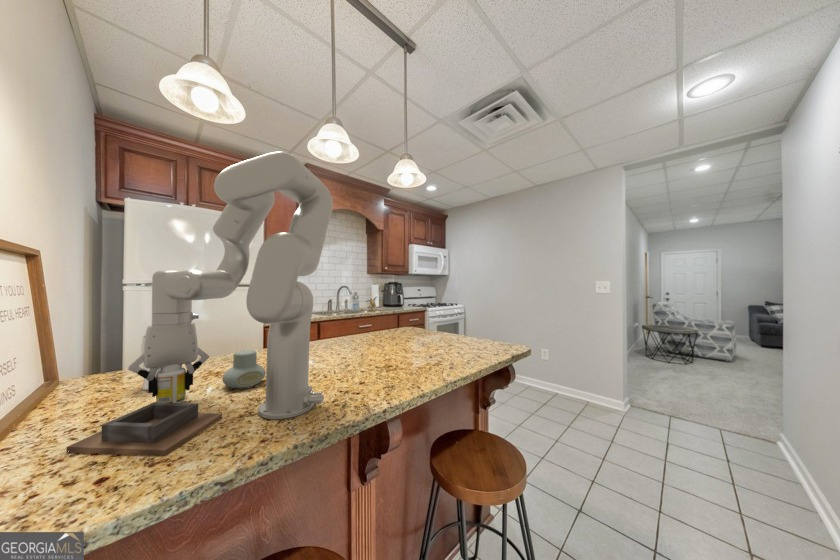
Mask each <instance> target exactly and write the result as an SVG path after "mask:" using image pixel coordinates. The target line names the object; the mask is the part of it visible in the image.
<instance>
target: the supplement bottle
mask: <svg viewBox="0 0 840 560" xmlns="http://www.w3.org/2000/svg"><path fill="white" fill-rule="evenodd" d="M186 372H187V368H186V367H185V368H184V367H183V364H180V365H169V366H166V367H161V371H159V372H158V373H157V375H156V379H157V384H156V396H155V400H156V401H155V402H158V403H184V402H185V401H186V399H187V397H186V396H187V390H186Z"/></svg>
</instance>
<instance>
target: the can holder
mask: <svg viewBox="0 0 840 560" xmlns="http://www.w3.org/2000/svg"><path fill="white" fill-rule="evenodd" d="M222 419H223V413H212V412H210V413H209V412H199V403H192V402H191V403H190V402H189V403H187V402H186V403H185V402H182V403H158V402H156V401H154V402H152V403H150V404H147V405H145V406H142V407H141V408H138V409H135V410H134V411H131V412H129V413H127V414H124V415H122V416H120V417H117V418H115V419H113V420H111V421H108V422H106V423H104V424H101V430H100V431H99V432H96V433H95V434H93V435H89V436H88V437H85V438H83V439H81V440H79V441H76V442H75V443H72V444H70V445H68V446H66V453H67V452H68V451H69V452H78V453H77V454H96V453H98V455H99V454H101V455H103V454H104V455H124V456H125V455H127V456H128V455H132V456H153V457H154V456H158V457H159V456H161V457H163V456H164V457H165V456H166V455H168V454H169V453H171V452H173V451H174V450H176V449H177V448H179V447H180V446H182V445H183V444H185V443H186V442H188V441H190V440H191V439H193V438H194V437H195V436H198V435H199V434H201V433H202V432H204V431H205V430H207V429H208V428H209V427H211V426H212V425H214V424H216V423H217V422H219V421H220V420H222Z"/></svg>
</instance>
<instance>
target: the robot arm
mask: <svg viewBox="0 0 840 560" xmlns="http://www.w3.org/2000/svg"><path fill="white" fill-rule="evenodd" d="M213 188H214V192H215V195H216V196H217V197H218V198H219V200H221V201H222V202H224V203H225V204H226V205H225V207H224V208H223V210H222V212H221V214H220V215H219V216H218V218H217V220H216V221H215V223H214V224H213V227H212V230H213V233H214V234H215V236H217V237H218V238H219V240H220V241H221V242H222V244H223V246H224V255H223V257H222V260H221V261H220V263H219V265H218V266H217V268H216V270H213V269H196V268H195V269H183V270H167V269H166V270H157V271H154V272H153V274H152V276H151V277H152V279H151V280H152V282H151V285H152V286H151V287H152V288H151V325H149V326H147V327H146V331H145V335H144V336H145V341H144V353H143V354H142V355H141V354H140V356H138V358H136V359H135V360H134V361H133V362H131V364H130V365H129V366H128V368H127V370H129V371H130V372H132V373H134V374H137V375H138V376H140V377H141V378H143V379H144V378H145V379H147V380H148V391H147V393H148V394H151V395H152V398H154V397H155V398H156V384H157V379H156V378H155V374H156V372H157V370H158V368H160V367H166V366H169V365H180V364H182V365H184V366H185V369H186V391H189V390H191V389H190V387H191V386H193V385H194V374H195V371H197V369H199V368H200V367H201V366H202V365H203V364H204V363H205V362H206V361H208V360H209V358H210V355H209V354H207V353H206V351H203V350H202V349H201V348H200V347H199V345H198V335H197V328H196V324H195V322H194V323H193V321H194V320H196V319H199V315H200V314H199V313H194V312H193V311H192V309H193V308H192V307H193V306H192V305H193V301H204V300H205V301H206V300H213V299H214V300H215V299H223V298H226V297H229V296H230V295H231V294H233V293H234V292H235V290H237V288H238V287H239V285H240V283H241V282H242V280H243V279H244V277H245V275H246V273H247V272H248V267H249V263H250V256H251V255H250V246H251V243H252V241H253V239H254V238H255V237H256V235H257V233H258V232H259V230H260V228H261V227H262V225H263V223H264V222H265V220H266V219H267V217H268V215H269V214H270V212H271V211H272V209H273V207H274V205H275V201H276V195H275V193H276V192H279V193H280V194H283V195H285V197H288V198H289V199H291V200H293V201H294V202H296V203H297V204H298V207H297V209H296V210H295V211H294V213H293V215H292V217H291V220H290V224H289V225H290V226H289V229H288V232H283V231H282V232H277V233H273V234H271V235H270V236H268V238H266V239H265V240H264V241H263V243H262V244H261V245H260V247H259V249H258V252H257V255H256V259H255V263H254V267H253V270H252V273H251V278H250V281H249V285H248V290H247V293H246V301H245V302H246V308H247V312H248V313H249V316H251V317H252V318H253V320H255V321H257V322H259V323H260V324H267V325H269V328H268V332H267V338H266V339H267V345H266V369H265V372H266V374H265V376H266V377H265V383H266V384H265V400H264V401H263V402H261V403H260V404H259V405H258V408H257V414H258V415H259V417H262V418H263V419H268V420H285V419H291V418H294V417H297V416H298V417H299V416H302V415H304V414H305V413H307V412H309V411H310V410H311V409H313V407H314V406H315V404H323V403H324V401H325V395H323V392H321V391H317V392H316V391H315V392H314V391H313V386H312V385H309V374H310V373H309V367H310V341H311V339H310V336H311V334H310V333H311V323H312V322H311V321H312V315H313V311H314V296H313V293H312V290H311V289H310V288H309V287H308V286H307V284H305V283H304V282H302V281H298V278H299V277H305V276H309V275H311V274H313V273H314V272H315V271H316V270H317V269H318V266H319V264H320V259H321V256H322V253H323V248H324V245H325V241H326V236H327V231H328V229H329V228H328V227H329V224H330V221H331V216H332V213H333V206H334V200H333V197H332V194H331V192H330V190H329V188H328V187H327V186H326V185H325V184H324V183H323V182H322V181H321V180H320V178H318V177H317V176H316V175H315V174H314V173H313V172H312V171H311V170H310V169H309V168H308V167H307V166H305V165H304V164H303V162H301V161H300V160H299V159H298V158H297V157H295V156H294V155H292V154H290V153H288V152H284V151H273V152H269V153H265V154H262V155H259V156H255V157H253V158H249V159H246V160H243V161H240V162H238V163H235V164H231V165H230V166H227V167H226V168H224V169H223V170H222V171H221V172H219V173H218V175H216V177H215V179H214V182H213ZM198 356H200V358H199V359H198ZM197 359H198V360H197ZM142 362H144V366H145V367H146V368H150V370H149V372H148V371H147V370H145V369H143V367H140V365H141V364H142ZM193 362H194V363H193ZM192 363H193V364H192Z"/></svg>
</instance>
